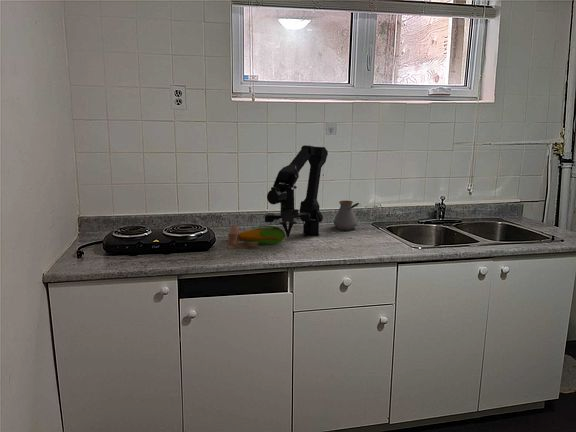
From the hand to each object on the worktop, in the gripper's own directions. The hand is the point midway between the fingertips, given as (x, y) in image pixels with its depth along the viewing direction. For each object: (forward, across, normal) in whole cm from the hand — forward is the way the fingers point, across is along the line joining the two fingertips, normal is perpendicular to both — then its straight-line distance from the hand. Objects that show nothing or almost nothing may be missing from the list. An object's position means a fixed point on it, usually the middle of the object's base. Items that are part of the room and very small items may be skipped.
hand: (287, 237), depth 203 cm
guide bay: (+2, -18, 0) cm, 18 cm away
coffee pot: (+3, +29, +23) cm, 37 cm away
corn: (+3, -11, 0) cm, 11 cm away
